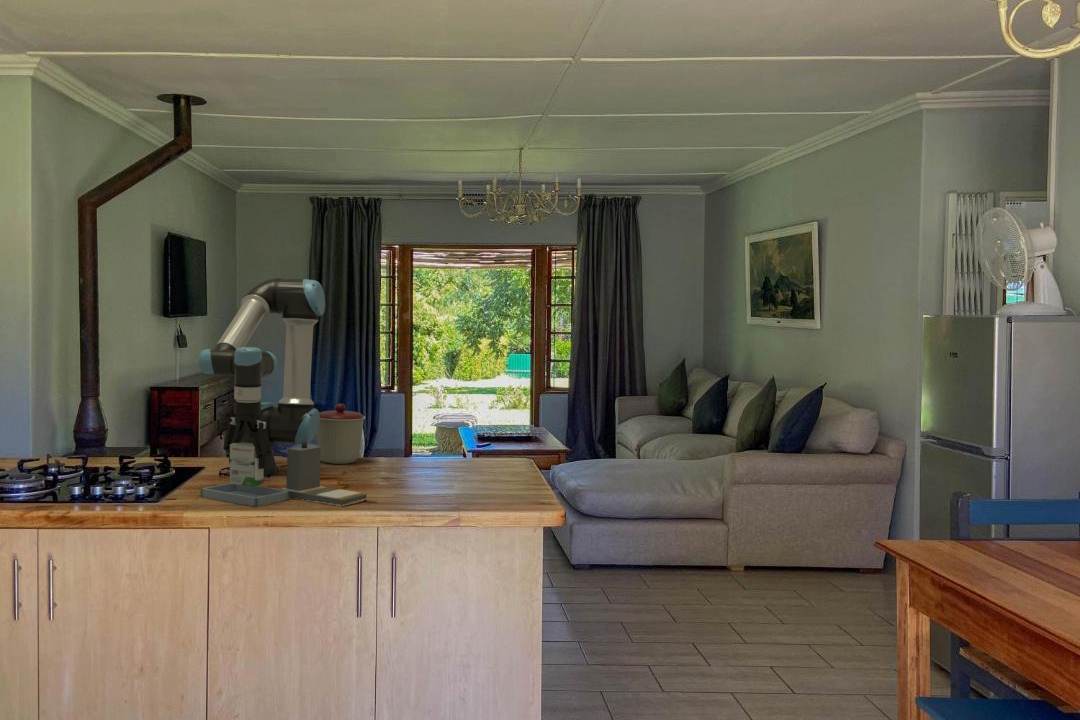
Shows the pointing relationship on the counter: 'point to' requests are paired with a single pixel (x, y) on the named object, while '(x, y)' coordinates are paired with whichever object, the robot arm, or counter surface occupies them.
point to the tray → (245, 494)
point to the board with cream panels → (327, 495)
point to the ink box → (243, 464)
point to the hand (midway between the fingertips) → (246, 477)
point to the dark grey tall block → (303, 467)
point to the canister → (340, 435)
